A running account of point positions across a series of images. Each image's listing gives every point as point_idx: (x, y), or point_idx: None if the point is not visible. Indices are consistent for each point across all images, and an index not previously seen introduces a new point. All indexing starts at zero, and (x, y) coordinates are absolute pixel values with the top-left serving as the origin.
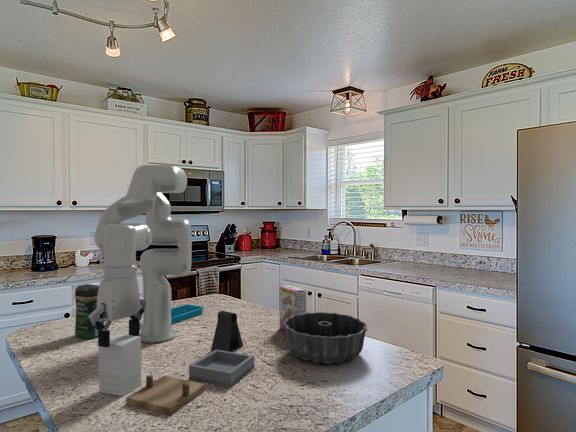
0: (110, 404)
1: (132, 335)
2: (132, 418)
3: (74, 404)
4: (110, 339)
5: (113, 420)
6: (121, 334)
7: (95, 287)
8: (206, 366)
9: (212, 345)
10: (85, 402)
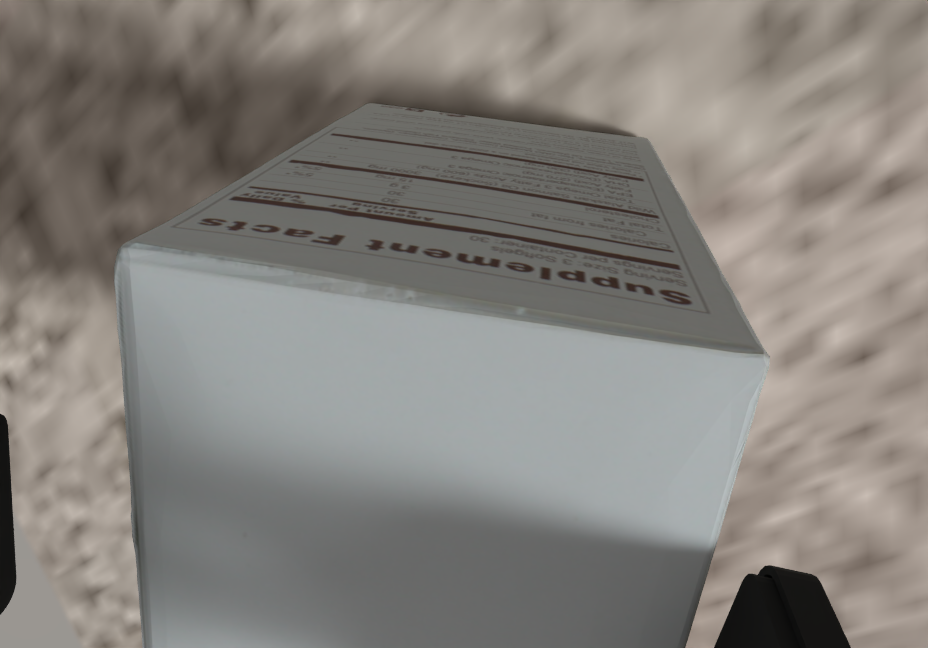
0: None
1: (733, 630)
2: (131, 559)
3: (116, 32)
4: (336, 401)
5: (67, 469)
6: (734, 428)
7: None
8: None
9: None
10: (178, 107)
